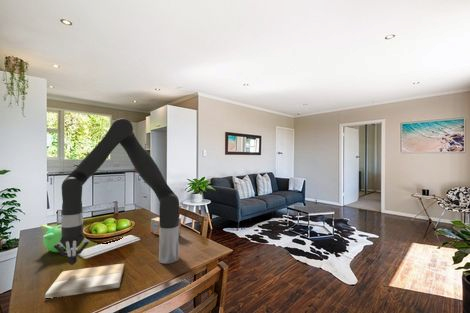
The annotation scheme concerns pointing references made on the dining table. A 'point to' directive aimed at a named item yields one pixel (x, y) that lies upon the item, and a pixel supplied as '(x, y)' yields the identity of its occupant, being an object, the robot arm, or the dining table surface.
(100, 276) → the whitewashed oak board
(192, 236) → the dining table surface
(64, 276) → the honey oak plank
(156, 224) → the stack of blocks
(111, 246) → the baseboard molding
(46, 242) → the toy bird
